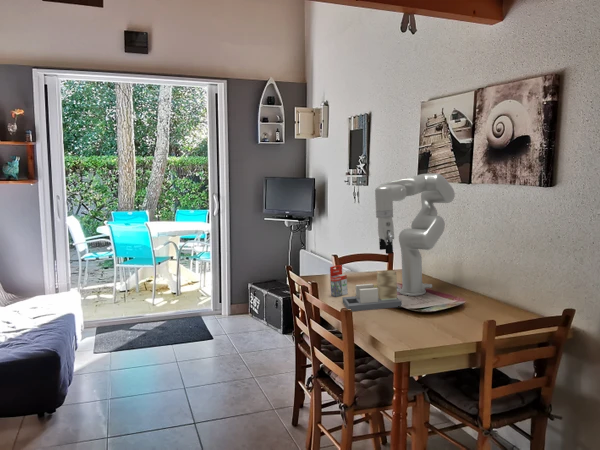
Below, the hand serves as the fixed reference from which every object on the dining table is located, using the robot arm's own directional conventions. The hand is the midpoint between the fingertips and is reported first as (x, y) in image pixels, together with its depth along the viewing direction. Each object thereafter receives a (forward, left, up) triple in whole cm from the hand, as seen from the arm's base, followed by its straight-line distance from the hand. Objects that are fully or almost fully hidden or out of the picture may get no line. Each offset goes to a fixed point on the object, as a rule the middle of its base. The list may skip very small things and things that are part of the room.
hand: (386, 251), depth 217 cm
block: (0, 0, -21) cm, 21 cm away
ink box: (+19, -20, -24) cm, 37 cm away
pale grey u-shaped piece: (+10, 0, -22) cm, 24 cm away
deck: (+8, 0, -24) cm, 25 cm away
